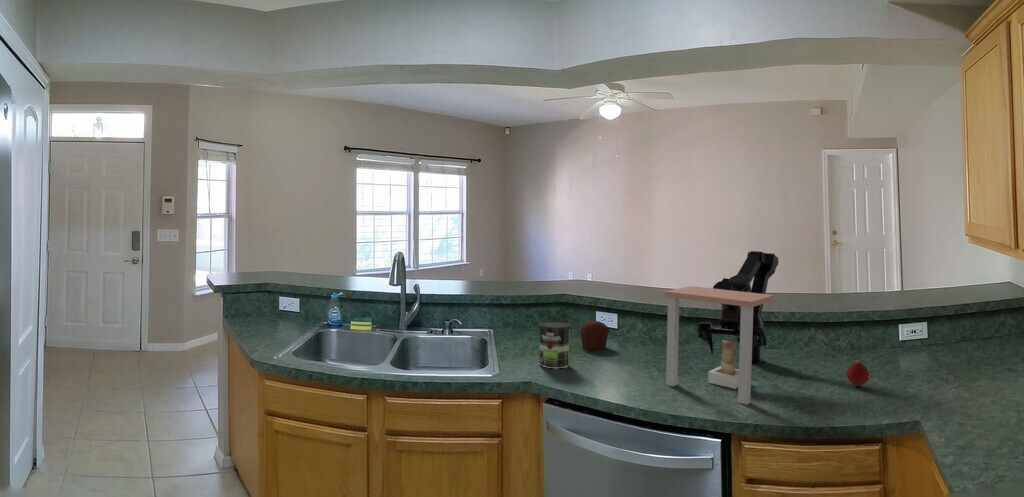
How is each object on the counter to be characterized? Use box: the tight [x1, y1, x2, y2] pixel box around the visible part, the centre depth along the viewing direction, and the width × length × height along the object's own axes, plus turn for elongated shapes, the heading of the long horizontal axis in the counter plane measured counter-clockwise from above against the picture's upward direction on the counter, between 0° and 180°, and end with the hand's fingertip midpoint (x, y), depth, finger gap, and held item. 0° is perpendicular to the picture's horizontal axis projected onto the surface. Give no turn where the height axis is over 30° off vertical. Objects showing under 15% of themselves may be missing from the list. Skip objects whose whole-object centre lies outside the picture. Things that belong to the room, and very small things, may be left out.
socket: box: [707, 365, 739, 390], centre depth 174 cm, size 8×8×4 cm
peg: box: [720, 338, 737, 376], centre depth 173 cm, size 4×4×13 cm
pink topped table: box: [663, 285, 776, 405], centre depth 167 cm, size 16×26×28 cm, turn 45°
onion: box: [846, 359, 870, 387], centre depth 170 cm, size 6×6×8 cm
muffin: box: [578, 320, 611, 352], centre depth 216 cm, size 12×11×10 cm
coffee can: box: [539, 321, 571, 369], centre depth 192 cm, size 10×10×14 cm
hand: (728, 356), depth 172 cm, fingers open, 9 cm apart
